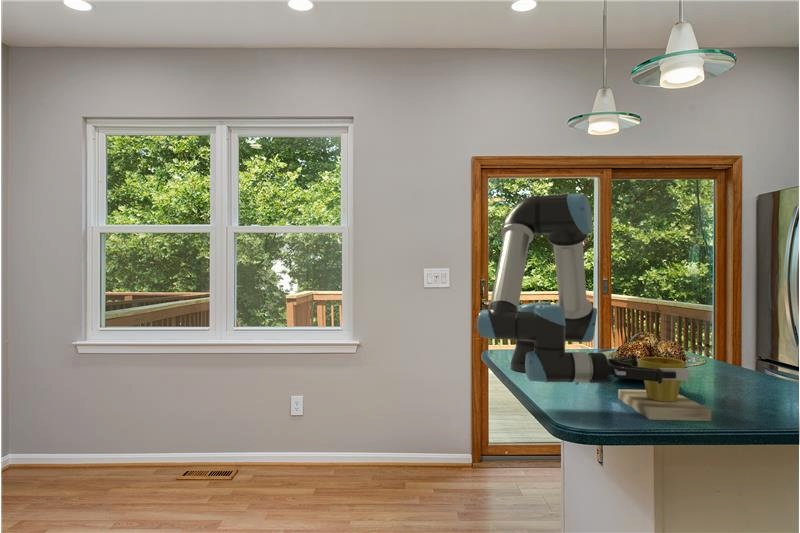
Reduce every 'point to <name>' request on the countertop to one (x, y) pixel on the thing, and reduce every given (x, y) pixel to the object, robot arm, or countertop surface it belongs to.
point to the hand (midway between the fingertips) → (674, 369)
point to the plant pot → (668, 387)
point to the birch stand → (664, 407)
